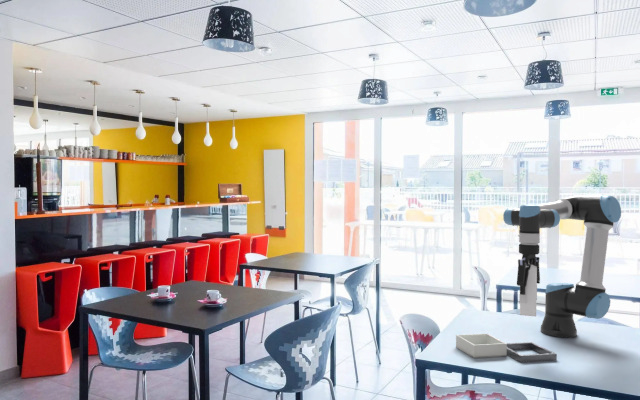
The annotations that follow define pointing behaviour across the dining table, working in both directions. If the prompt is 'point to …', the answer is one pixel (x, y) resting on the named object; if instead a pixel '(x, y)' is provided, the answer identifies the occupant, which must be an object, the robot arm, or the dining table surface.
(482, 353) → the bin
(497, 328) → the dining table surface
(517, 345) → the collar
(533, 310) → the milk
